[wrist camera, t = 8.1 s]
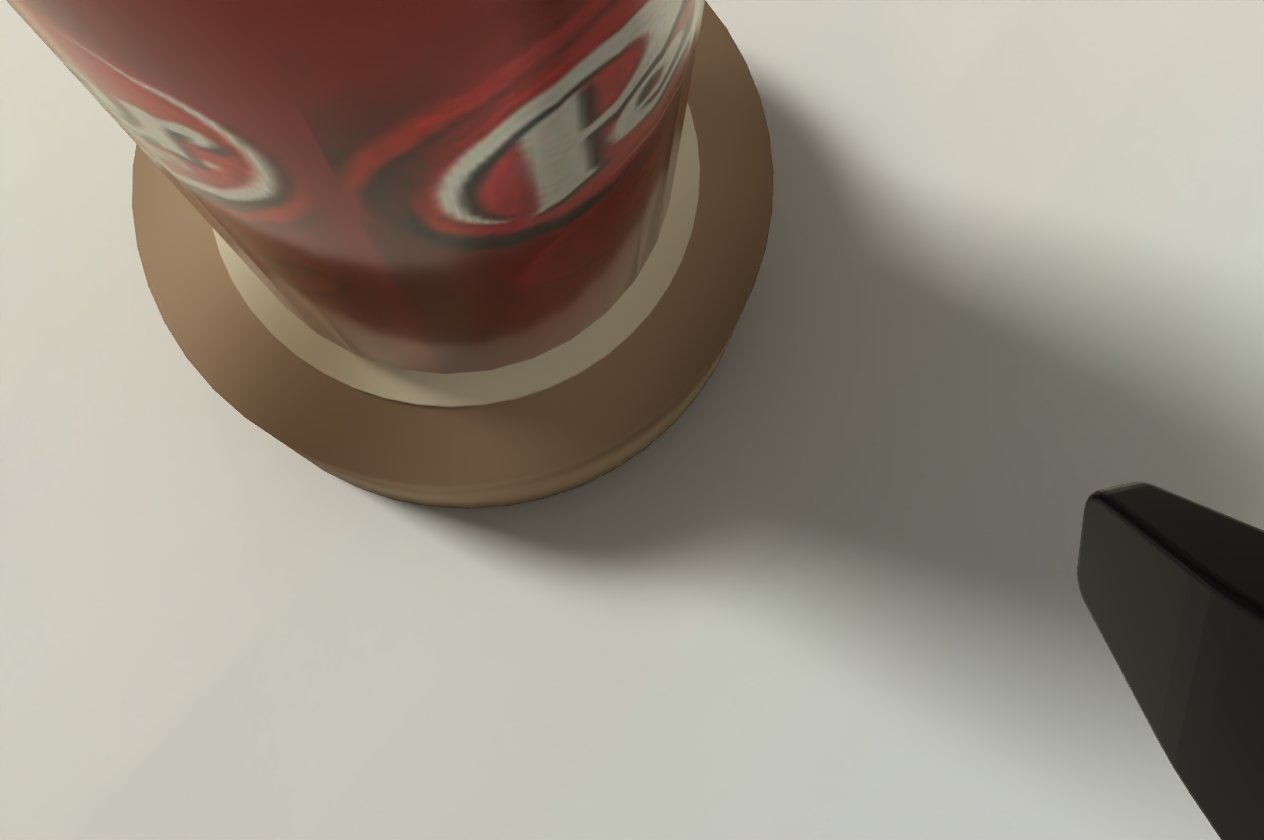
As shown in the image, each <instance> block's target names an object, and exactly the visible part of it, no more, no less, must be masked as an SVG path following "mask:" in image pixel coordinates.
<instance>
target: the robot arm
mask: <svg viewBox="0 0 1264 840" xmlns="http://www.w3.org/2000/svg"><path fill="white" fill-rule="evenodd" d="M1077 576H1078V584H1079V588H1080V592H1081V594H1082V597H1083V600H1084V602H1085V604H1086V606H1087V608H1088V610H1089V611H1090V613H1091V615H1092V617H1093V619H1094V621H1095V623H1096V625H1097V626H1098V628H1099V630H1100V632H1101V634H1102V636H1103V638H1104V640H1105V642H1106V643H1107V645H1108V647H1109V649H1110V651H1111V653H1112V655H1113V657H1114V659H1115V660H1116V662H1117V664H1118V666H1119V668H1120V670H1121V672H1122V674H1123V675H1124V677H1125V679H1126V681H1127V683H1128V685H1129V687H1130V689H1131V691H1132V692H1133V694H1134V696H1135V698H1136V700H1137V702H1138V704H1139V706H1140V708H1141V709H1142V711H1143V713H1144V715H1145V717H1146V719H1147V721H1148V723H1149V724H1150V726H1151V728H1152V730H1153V732H1154V734H1155V736H1156V738H1157V740H1158V741H1159V743H1160V745H1161V747H1162V748H1163V750H1164V752H1165V754H1166V755H1167V757H1168V759H1169V761H1170V762H1171V764H1172V766H1173V768H1174V769H1175V771H1176V772H1177V774H1178V775H1179V777H1180V779H1181V780H1182V782H1183V783H1184V785H1185V786H1186V788H1187V789H1188V791H1189V793H1190V794H1191V796H1192V797H1193V799H1194V800H1195V802H1196V803H1197V805H1198V806H1199V808H1200V809H1201V810H1202V812H1203V813H1204V815H1205V816H1206V818H1207V819H1208V821H1209V822H1210V824H1211V825H1212V827H1213V828H1214V830H1215V831H1216V833H1217V834H1218V836H1219V837H1220V839H1221V840H1264V531H1263V530H1261V529H1259V528H1256V527H1254V526H1251V525H1249V524H1246V523H1244V522H1242V521H1239V520H1237V519H1234V518H1232V517H1229V516H1227V515H1225V514H1222V513H1220V512H1217V511H1215V510H1213V509H1210V508H1208V507H1205V506H1203V505H1200V504H1198V503H1196V502H1193V501H1191V500H1188V499H1186V498H1183V497H1181V496H1179V495H1176V494H1174V493H1171V492H1169V491H1167V490H1164V489H1162V488H1159V487H1157V486H1154V485H1152V484H1149V483H1145V482H1132V483H1128V484H1123V485H1119V486H1115V487H1110V488H1106V489H1102V490H1098V491H1096V492H1094V493H1093V494H1091V495H1090V497H1089V498H1088V500H1087V502H1086V504H1085V509H1084V516H1083V524H1082V533H1081V541H1080V550H1079V558H1078V567H1077Z"/></svg>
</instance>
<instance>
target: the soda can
mask: <svg viewBox="0 0 1264 840" xmlns="http://www.w3.org/2000/svg"><path fill="white" fill-rule="evenodd" d="M6 1H7V2H8V3H9V4H10V5H11V6H12V8H13V9H14V10H15V11H16V12H17V13H18V14H19V15H20V16H21V17H22V19H23V20H24V21H25V22H26V23H27V24H28V25H29V26H30V27H31V28H32V30H33V31H34V32H35V33H36V34H37V35H38V36H39V37H40V38H41V39H42V41H43V42H44V43H45V44H46V45H47V46H48V47H49V48H50V49H51V50H52V51H53V53H54V54H55V55H56V56H57V57H58V58H59V59H60V60H61V61H62V62H63V64H64V65H65V66H66V67H67V68H68V69H69V70H70V71H71V72H72V73H73V75H74V76H75V77H76V78H77V79H78V80H79V81H80V82H81V83H82V84H83V86H84V87H85V88H86V89H87V90H88V91H89V92H90V93H91V94H92V95H93V97H94V98H95V99H96V100H97V101H98V102H99V103H100V104H101V105H102V106H103V108H104V109H105V110H106V111H107V112H108V113H109V114H110V115H111V116H112V117H113V119H114V120H115V121H116V122H117V123H118V124H119V125H120V126H121V127H122V128H123V130H124V131H125V132H126V133H127V134H128V135H129V136H130V137H131V138H132V139H133V141H134V142H135V143H136V144H137V145H138V146H139V147H140V148H141V149H142V150H143V152H144V153H145V154H146V155H147V156H148V157H149V158H150V159H151V160H152V161H153V162H154V164H155V165H156V166H157V167H158V168H159V169H160V170H161V171H162V172H163V173H164V175H165V176H166V177H167V178H168V179H169V180H170V181H171V182H172V183H173V184H174V186H175V187H176V188H177V189H178V190H179V191H180V192H181V193H182V194H183V195H184V197H185V198H186V199H187V200H188V201H189V202H190V203H191V204H192V205H193V206H194V208H195V209H196V210H197V211H198V212H199V213H200V214H201V215H202V216H203V217H204V219H205V220H206V221H207V222H208V223H209V224H210V225H211V226H212V227H213V228H214V230H215V231H216V232H217V233H218V234H219V235H220V236H221V237H222V238H223V239H224V241H225V242H226V243H227V244H228V245H229V246H230V247H231V248H232V249H233V250H234V252H235V253H236V254H237V255H238V256H239V257H240V258H241V259H242V260H243V261H244V263H245V264H246V265H247V266H248V267H249V268H250V269H251V270H252V271H253V272H254V274H255V275H256V276H257V277H258V278H259V279H260V280H261V281H262V282H263V283H264V284H265V286H266V287H267V288H268V289H269V290H270V291H271V292H272V293H273V294H274V295H275V297H276V298H277V299H278V300H279V301H280V302H281V303H282V304H283V305H284V306H285V307H286V308H287V309H288V310H289V311H291V312H292V313H293V314H294V315H295V316H297V317H298V318H299V319H300V320H301V321H302V322H304V323H305V324H306V325H307V326H308V327H310V328H311V329H312V330H313V331H314V332H315V333H317V334H318V335H320V336H322V337H324V338H326V339H327V340H329V341H331V342H333V343H335V344H337V345H338V346H340V347H342V348H344V349H346V350H348V351H349V352H351V353H353V354H355V355H357V356H360V357H363V358H366V359H369V360H372V361H376V362H379V363H382V364H385V365H388V366H392V367H395V368H398V369H403V370H412V371H421V372H430V373H438V374H454V373H466V372H479V371H490V370H494V369H497V368H501V367H505V366H508V365H512V364H516V363H519V362H523V361H526V360H530V359H533V358H535V357H537V356H539V355H541V354H543V353H545V352H547V351H549V350H551V349H553V348H555V347H558V346H560V345H562V344H564V343H566V342H568V341H570V340H572V339H573V338H574V337H576V336H577V335H578V334H580V333H581V332H582V331H584V330H585V329H586V328H588V327H589V326H590V325H591V324H593V323H594V322H595V321H597V320H598V319H599V318H601V317H602V316H603V315H605V314H606V313H607V312H608V311H609V310H610V308H611V307H612V306H613V305H614V304H615V303H616V302H617V301H618V299H619V298H620V297H621V296H622V295H623V294H624V293H625V291H626V290H627V289H628V288H629V287H630V286H631V285H632V284H633V282H634V281H635V280H636V278H637V276H638V275H639V273H640V271H641V269H642V268H643V266H644V264H645V262H646V261H647V259H648V257H649V255H650V254H651V252H652V250H653V249H654V247H655V245H656V243H657V240H658V237H659V234H660V231H661V228H662V225H663V222H664V219H665V216H666V213H667V210H668V207H669V204H670V198H671V192H672V186H673V181H674V175H675V169H676V163H677V158H678V152H679V146H680V141H681V135H682V129H683V123H684V118H685V112H686V106H687V101H688V95H689V89H690V83H691V78H692V72H693V66H694V60H695V55H696V49H697V43H698V38H699V32H700V26H701V20H702V15H703V9H704V3H705V0H6Z"/></svg>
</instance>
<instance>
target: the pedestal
mask: <svg viewBox="0 0 1264 840" xmlns="http://www.w3.org/2000/svg"><path fill="white" fill-rule="evenodd" d="M772 195H773V166H772V156H771V147H770V138H769V132H768V128H767V124H766V120H765V116H764V112H763V108H762V104H761V100H760V96H759V94H758V91H757V89H756V86H755V84H754V81H753V79H752V76H751V74H750V71H749V69H748V66H747V64H746V62H745V60H744V58H743V56H742V55H741V53H740V51H739V49H738V48H737V46H736V44H735V42H734V40H733V39H732V37H731V35H730V33H729V32H728V30H727V28H726V27H725V26H724V24H723V23H722V22H721V20H720V19H719V18H718V16H717V15H716V14H715V12H714V11H713V10H712V9H711V7H710V6H709V5H708V3H707V2H706V1H705V3H704V9H703V15H702V20H701V26H700V32H699V38H698V43H697V49H696V55H695V60H694V66H693V72H692V78H691V83H690V89H689V95H688V101H687V106H686V112H685V118H684V123H683V129H682V135H681V141H680V146H679V152H678V158H677V163H676V169H675V175H674V181H673V186H672V192H671V198H670V204H669V207H668V210H667V213H666V216H665V219H664V222H663V225H662V228H661V231H660V234H659V237H658V240H657V243H656V245H655V247H654V249H653V250H652V252H651V254H650V255H649V257H648V259H647V261H646V262H645V264H644V266H643V268H642V269H641V271H640V273H639V275H638V276H637V278H636V280H635V281H634V282H633V284H632V285H631V286H630V287H629V288H628V289H627V290H626V291H625V293H624V294H623V295H622V296H621V297H620V298H619V299H618V301H617V302H616V303H615V304H614V305H613V306H612V307H611V308H610V310H609V311H608V312H607V313H606V314H605V315H603V316H602V317H601V318H599V319H598V320H597V321H595V322H594V323H593V324H591V325H590V326H589V327H588V328H586V329H585V330H584V331H582V332H581V333H580V334H578V335H577V336H576V337H574V338H573V339H572V340H570V341H568V342H566V343H564V344H562V345H560V346H558V347H555V348H553V349H551V350H549V351H547V352H545V353H543V354H541V355H539V356H537V357H535V358H533V359H530V360H526V361H523V362H519V363H516V364H512V365H508V366H505V367H501V368H497V369H494V370H490V371H479V372H466V373H454V374H438V373H430V372H421V371H412V370H403V369H398V368H395V367H392V366H388V365H385V364H382V363H379V362H376V361H372V360H369V359H366V358H363V357H360V356H357V355H355V354H353V353H351V352H349V351H348V350H346V349H344V348H342V347H340V346H338V345H337V344H335V343H333V342H331V341H329V340H327V339H326V338H324V337H322V336H320V335H318V334H317V333H315V332H314V331H313V330H312V329H311V328H310V327H308V326H307V325H306V324H305V323H304V322H302V321H301V320H300V319H299V318H298V317H297V316H295V315H294V314H293V313H292V312H291V311H289V310H288V309H287V308H286V307H285V306H284V305H283V304H282V303H281V302H280V301H279V300H278V299H277V298H276V297H275V295H274V294H273V293H272V292H271V291H270V290H269V289H268V288H267V287H266V286H265V284H264V283H263V282H262V281H261V280H260V279H259V278H258V277H257V276H256V275H255V274H254V272H253V271H252V270H251V269H250V268H249V267H248V266H247V265H246V264H245V263H244V261H243V260H242V259H241V258H240V257H239V256H238V255H237V254H236V253H235V252H234V250H233V249H232V248H231V247H230V246H229V245H228V244H227V243H226V242H225V241H224V239H223V238H222V237H221V236H220V235H219V234H218V233H217V232H216V231H215V230H214V228H213V227H212V226H211V225H210V224H209V223H208V222H207V221H206V220H205V219H204V217H203V216H202V215H201V214H200V213H199V212H198V211H197V210H196V209H195V208H194V206H193V205H192V204H191V203H190V202H189V201H188V200H187V199H186V198H185V197H184V195H183V194H182V193H181V192H180V191H179V190H178V189H177V188H176V187H175V186H174V184H173V183H172V182H171V181H170V180H169V179H168V178H167V177H166V176H165V175H164V173H163V172H162V171H161V170H160V169H159V168H158V167H157V166H156V165H155V164H154V162H153V161H152V160H151V159H150V158H149V157H148V156H147V155H146V154H145V153H144V152H143V150H142V149H141V148H140V147H139V146H138V145H136V151H135V158H134V164H133V195H132V209H133V216H134V224H135V232H136V240H137V247H138V251H139V254H140V258H141V261H142V265H143V269H144V272H145V276H146V279H147V283H148V286H149V288H150V291H151V293H152V295H153V297H154V300H155V302H156V304H157V306H158V309H159V311H160V313H161V315H162V318H163V320H164V322H165V324H166V325H167V327H168V329H169V330H170V332H171V333H172V335H173V337H174V338H175V340H176V341H177V343H178V345H179V346H180V348H181V349H182V351H183V353H184V354H185V356H186V357H187V359H188V360H189V361H190V362H191V363H192V364H193V366H194V367H195V368H196V369H197V370H198V372H199V373H200V374H201V375H202V376H203V377H204V379H205V380H206V381H207V382H208V383H209V385H210V386H211V387H212V388H213V389H214V390H215V391H216V392H217V393H218V394H219V395H220V396H222V397H223V398H224V399H225V400H226V401H227V402H228V403H229V404H231V405H232V406H233V407H234V408H235V409H236V410H237V411H238V412H240V413H241V414H242V415H243V416H244V417H245V418H247V419H248V420H250V421H251V422H253V423H254V424H255V425H257V426H258V427H260V428H261V429H263V430H264V431H266V432H267V433H269V434H270V435H272V436H273V437H275V438H276V439H278V440H279V441H281V442H282V443H284V444H285V445H287V446H288V447H289V448H291V449H292V450H294V451H295V452H297V453H298V454H300V455H301V456H303V457H304V458H306V459H307V460H309V461H310V462H312V463H313V464H315V465H316V466H318V467H319V468H321V469H322V470H324V471H326V472H328V473H330V474H332V475H334V476H336V477H338V478H340V479H342V480H344V481H346V482H348V483H350V484H352V485H354V486H356V487H359V488H362V489H365V490H368V491H371V492H374V493H377V494H380V495H383V496H386V497H389V498H392V499H396V500H401V501H407V502H412V503H417V504H422V505H427V506H437V507H453V508H482V507H496V506H508V505H513V504H518V503H523V502H528V501H533V500H538V499H543V498H546V497H549V496H552V495H555V494H558V493H561V492H564V491H567V490H570V489H573V488H576V487H579V486H581V485H583V484H585V483H587V482H589V481H591V480H593V479H595V478H597V477H599V476H601V475H603V474H605V473H608V472H610V471H612V470H614V469H615V468H617V467H618V466H620V465H621V464H623V463H624V462H626V461H627V460H629V459H630V458H632V457H633V456H635V455H636V454H638V453H639V452H641V451H642V450H644V449H645V448H646V447H647V446H648V445H650V444H651V443H652V442H653V441H654V440H655V439H656V438H658V437H659V436H660V435H661V434H662V433H663V432H664V431H666V430H667V429H668V428H669V427H670V426H671V425H672V424H673V423H674V422H675V421H676V420H677V419H678V417H679V416H680V415H681V414H682V413H683V412H684V411H685V409H686V408H687V407H688V406H689V405H690V404H691V403H692V401H693V400H694V399H695V398H696V397H697V395H698V394H699V392H700V391H701V389H702V388H703V386H704V385H705V383H706V382H707V380H708V379H709V377H710V376H711V374H712V373H713V371H714V369H715V368H716V366H717V364H718V362H719V360H720V358H721V356H722V354H723V351H724V349H725V347H726V345H727V343H728V341H729V339H730V337H731V335H732V333H733V330H734V328H735V326H736V324H737V322H738V319H739V317H740V315H741V313H742V311H743V309H744V306H745V304H746V302H747V300H748V298H749V295H750V293H751V291H752V289H753V286H754V283H755V280H756V277H757V274H758V271H759V268H760V265H761V261H762V258H763V255H764V252H765V249H766V243H767V237H768V231H769V225H770V220H771V214H772Z"/></svg>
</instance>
